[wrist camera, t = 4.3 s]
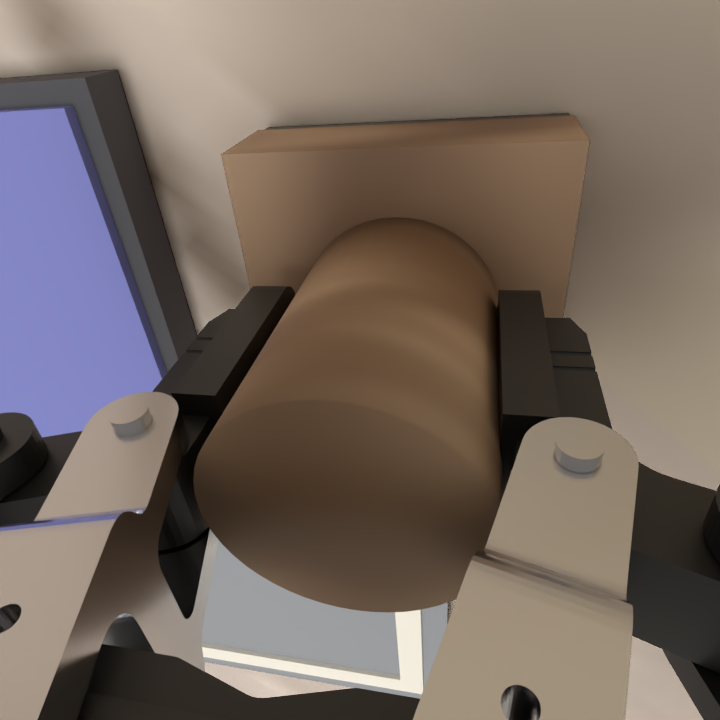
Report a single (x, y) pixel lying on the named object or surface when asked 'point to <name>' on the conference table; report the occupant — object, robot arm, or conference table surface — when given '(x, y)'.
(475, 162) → the stamp
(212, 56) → the conference table surface
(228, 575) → the frame board
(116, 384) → the ink pad
